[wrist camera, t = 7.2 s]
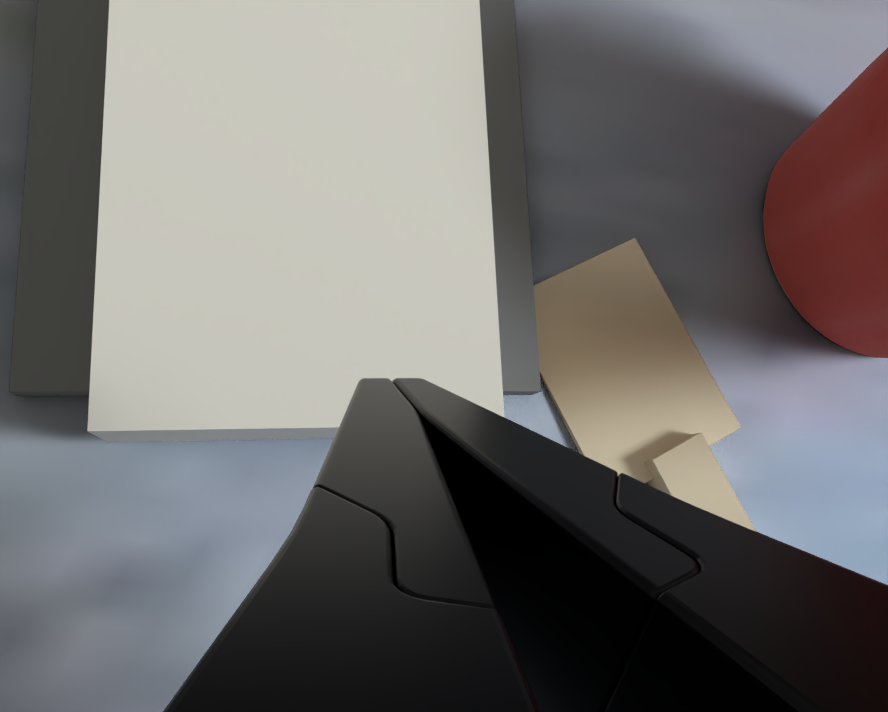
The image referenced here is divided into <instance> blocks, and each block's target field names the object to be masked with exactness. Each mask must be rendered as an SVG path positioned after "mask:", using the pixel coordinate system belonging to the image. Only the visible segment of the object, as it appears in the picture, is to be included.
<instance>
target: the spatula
mask: <svg viewBox="0 0 888 712" xmlns="http://www.w3.org/2000/svg"><path fill="white" fill-rule="evenodd" d="M534 297H535V311H536V326H537V340H538V354H539V369H540V376H541V378H542V380H543V382H544V384H545V386H546V388H547V390H548V392H549V394H550V396H551V398H552V400H553V402H554V404H555V406H556V408H557V410H558V412H559V414H560V416H561V418H562V420H563V422H564V424H565V426H566V428H567V430H568V432H569V434H570V435H571V437H572V439H573V441H574V443H575V445H576V447H577V449H578V451H579V453H580V454H582V455H584V456H586V457H588V458H590V459H592V460H594V461H596V462H598V463H601V464H603V465H605V466H607V467H609V468H611V469H613V470H615V471H617V473H618V475H619V474H620V473H624V474H626V475H628V476H630V477H632V478H635V479H637V480H639V481H641V482H643V483H646V482H647V483H648V485H649V486H651V487H654V488H656V489H658V490H660V491H662V492H665V493H667V494H669V495H671V496H673V497H676V498H678V499H680V500H682V501H684V502H687V503H689V504H691V505H694V506H696V507H698V508H701V509H703V510H705V511H708V512H710V513H712V514H715V515H717V516H720V517H722V518H724V519H727V520H729V521H731V522H734V523H736V524H739V525H741V526H743V527H746V528H748V529H751V530H753V531H756V530H755V529H754V527H753V525H752V523H751V521H750V519H749V518H748V516H747V514H746V512H745V510H744V509H743V507H742V505H741V503H740V501H739V500H738V498H737V496H736V494H735V492H734V490H733V489H732V487H731V485H730V483H729V481H728V480H727V478H726V476H725V474H724V472H723V470H722V469H721V467H720V465H719V463H718V461H717V460H716V458H715V456H714V454H713V452H712V451H711V449H710V447H709V446H710V445H712V444H714V443H716V442H717V441H719V440H721V439H722V438H724V437H726V436H728V435H729V434H731V433H733V432H735V431H736V430H738V429H740V428H741V427H740V425H739V423H738V421H737V419H736V418H735V416H734V414H733V412H732V410H731V409H730V407H729V405H728V403H727V401H726V400H725V398H724V396H723V394H722V392H721V391H720V389H719V387H718V385H717V384H716V382H715V380H714V378H713V376H712V375H711V373H710V371H709V369H708V367H707V366H706V364H705V362H704V360H703V358H702V357H701V355H700V353H699V351H698V349H697V348H696V346H695V344H694V342H693V340H692V339H691V337H690V335H689V333H688V332H687V330H686V328H685V326H684V324H683V323H682V321H681V319H680V317H679V315H678V314H677V312H676V310H675V308H674V306H673V305H672V303H671V301H670V299H669V297H668V296H667V294H666V292H665V290H664V288H663V287H662V285H661V283H660V281H659V279H658V278H657V276H656V274H655V272H654V271H653V269H652V267H651V265H650V263H649V262H648V260H647V258H646V256H645V254H644V253H643V251H642V249H641V247H640V245H639V244H638V242H637V240H636V238H633V239H631V240H629V241H627V242H625V243H623V244H620V245H618V246H616V247H614V248H612V249H610V250H608V251H606V252H603V253H601V254H599V255H597V256H595V257H593V258H591V259H589V260H587V261H584V262H582V263H580V264H578V265H576V266H574V267H572V268H570V269H567V270H565V271H563V272H561V273H559V274H557V275H555V276H553V277H550V278H548V279H546V280H544V281H542V282H540V283H538V284H536V285H534Z"/></svg>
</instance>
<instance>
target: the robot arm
mask: <svg viewBox="0 0 888 712" xmlns="http://www.w3.org/2000/svg"><path fill="white" fill-rule="evenodd" d="M163 712H888V585H886V584H883V583H881V582H878V581H876V580H873V579H871V578H869V577H866V576H864V575H861V574H859V573H856V572H854V571H851V570H849V569H846V568H844V567H842V566H839V565H837V564H834V563H832V562H829V561H827V560H824V559H822V558H819V557H817V556H815V555H812V554H810V553H807V552H805V551H802V550H800V549H797V548H795V547H793V546H790V545H788V544H785V543H783V542H780V541H778V540H775V539H773V538H770V537H768V536H766V535H763V534H761V533H758V532H756V531H753V530H751V529H748V528H746V527H743V526H741V525H739V524H736V523H734V522H731V521H729V520H727V519H724V518H722V517H720V516H717V515H715V514H712V513H710V512H708V511H705V510H703V509H701V508H698V507H696V506H694V505H691V504H689V503H687V502H684V501H682V500H680V499H678V498H676V497H673V496H671V495H669V494H667V493H665V492H662V491H660V490H658V489H656V488H654V487H651V486H649V485H647V484H645V483H643V482H641V481H639V480H637V479H635V478H632V477H630V476H628V475H626V474H624V473H620V474H619V475H618V473H617V471H615V470H613V469H611V468H609V467H607V466H605V465H603V464H601V463H598V462H596V461H594V460H592V459H590V458H588V457H586V456H584V455H582V454H580V453H578V452H575V451H573V450H571V449H569V448H567V447H565V446H563V445H561V444H559V443H557V442H554V441H552V440H550V439H548V438H546V437H544V436H542V435H540V434H538V433H536V432H534V431H531V430H529V429H527V428H525V427H523V426H521V425H519V424H517V423H515V422H513V421H511V420H508V419H506V418H504V417H502V416H500V415H498V414H496V413H494V412H492V411H490V410H488V409H485V408H483V407H481V406H479V405H477V404H475V403H473V402H471V401H469V400H467V399H464V398H462V397H460V396H458V395H456V394H454V393H452V392H450V391H448V390H446V389H444V388H441V387H439V386H437V385H435V384H433V383H431V382H429V381H427V380H425V379H421V378H396V379H394V380H393V381H391V380H390V379H388V378H362V379H361V380H360V381H359V382H358V384H357V386H356V389H355V391H354V393H353V396H352V398H351V400H350V403H349V405H348V407H347V410H346V412H345V414H344V417H343V419H342V421H341V424H340V426H339V428H338V431H337V433H336V435H335V438H334V440H333V442H332V445H331V447H330V449H329V452H328V454H327V456H326V459H325V461H324V463H323V466H322V468H321V470H320V473H319V475H318V477H317V480H316V482H315V484H314V487H313V489H312V490H311V492H310V494H309V496H308V499H307V501H306V503H305V506H304V508H303V510H302V512H301V514H300V516H299V518H298V519H297V521H296V523H295V525H294V527H293V529H292V531H291V533H290V534H289V536H288V537H287V539H286V541H285V542H284V544H283V545H282V547H281V548H280V550H279V551H278V553H277V554H276V556H275V557H274V559H273V560H272V562H271V563H270V565H269V566H268V567H267V569H266V570H265V571H264V573H263V574H262V576H261V577H260V578H259V580H258V581H257V583H256V584H255V585H254V587H253V588H252V589H251V591H250V592H249V594H248V595H247V596H246V598H245V599H244V600H243V602H242V603H241V605H240V606H239V607H238V609H237V610H236V612H235V613H234V614H233V616H232V617H231V618H230V620H229V621H228V623H227V624H226V625H225V627H224V628H223V629H222V631H221V632H220V634H219V635H218V636H217V638H216V639H215V641H214V642H213V643H212V645H211V646H210V647H209V649H208V650H207V652H206V653H205V654H204V656H203V657H202V658H201V660H200V661H199V663H198V664H197V665H196V667H195V668H194V670H193V671H192V672H191V674H190V675H189V676H188V678H187V679H186V681H185V682H184V683H183V685H182V686H181V687H180V689H179V690H178V692H177V693H176V694H175V696H174V697H173V699H172V700H171V701H170V703H169V704H168V705H167V707H166V708H165V710H164V711H163Z"/></svg>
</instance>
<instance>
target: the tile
mask: <svg viewBox="0 0 888 712" xmlns="http://www.w3.org/2000/svg"><path fill="white" fill-rule="evenodd" d="M362 378H388V379H390V380H391V381H393V380H394V379H396V378H421V379H425V380H427V381H429V382H431V383H433V384H435V385H437V386H439V387H441V388H444V389H446V390H448V391H450V392H452V393H454V394H456V395H458V396H460V397H462V398H464V399H467V400H469V401H471V402H473V403H475V404H477V405H479V406H481V407H483V408H485V409H488V410H490V411H492V412H494V413H496V414H498V415H500V416H502V417H504V403H503V386H502V369H501V353H500V336H499V320H498V303H497V286H496V270H495V253H494V236H493V220H492V203H491V186H490V170H489V153H488V137H487V120H486V103H485V87H484V70H483V53H482V37H481V20H480V3H479V0H109V18H108V37H107V57H106V77H105V96H104V116H103V135H102V155H101V174H100V194H99V214H98V233H97V253H96V272H95V292H94V311H93V331H92V351H91V370H90V390H89V409H88V429H87V431H88V432H90V433H92V434H93V435H95V436H97V437H99V438H101V439H103V440H105V441H106V442H108V443H111V442H162V441H213V440H264V439H315V438H335V435H336V433H337V431H338V428H339V426H340V424H341V421H342V419H343V417H344V414H345V412H346V410H347V407H348V405H349V403H350V400H351V398H352V396H353V393H354V391H355V389H356V386H357V384H358V382H359V381H360V380H361V379H362Z"/></svg>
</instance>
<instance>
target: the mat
mask: <svg viewBox="0 0 888 712" xmlns="http://www.w3.org/2000/svg"><path fill="white" fill-rule="evenodd" d="M479 3H480V20H481V37H482V53H483V70H484V87H485V103H486V120H487V137H488V153H489V170H490V186H491V203H492V220H493V236H494V253H495V270H496V286H497V303H498V320H499V336H500V353H501V369H502V386H503V395H532V394H535V393H538V392H541V383H540V369H539V354H538V340H537V326H536V311H535V297H534V283H533V268H532V254H531V239H530V225H529V211H528V196H527V182H526V168H525V153H524V139H523V125H522V110H521V96H520V81H519V67H518V53H517V38H516V24H515V10H514V0H479ZM108 18H109V0H38V3H37V17H36V30H35V44H34V57H33V71H32V84H31V98H30V112H29V125H28V139H27V152H26V166H25V179H24V193H23V207H22V220H21V234H20V247H19V261H18V274H17V288H16V301H15V315H14V329H13V342H12V356H11V369H10V383H9V392H11V393H13V394H14V395H16V396H89V390H90V370H91V351H92V331H93V311H94V292H95V272H96V253H97V233H98V214H99V194H100V174H101V155H102V135H103V116H104V96H105V77H106V57H107V37H108Z"/></svg>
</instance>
